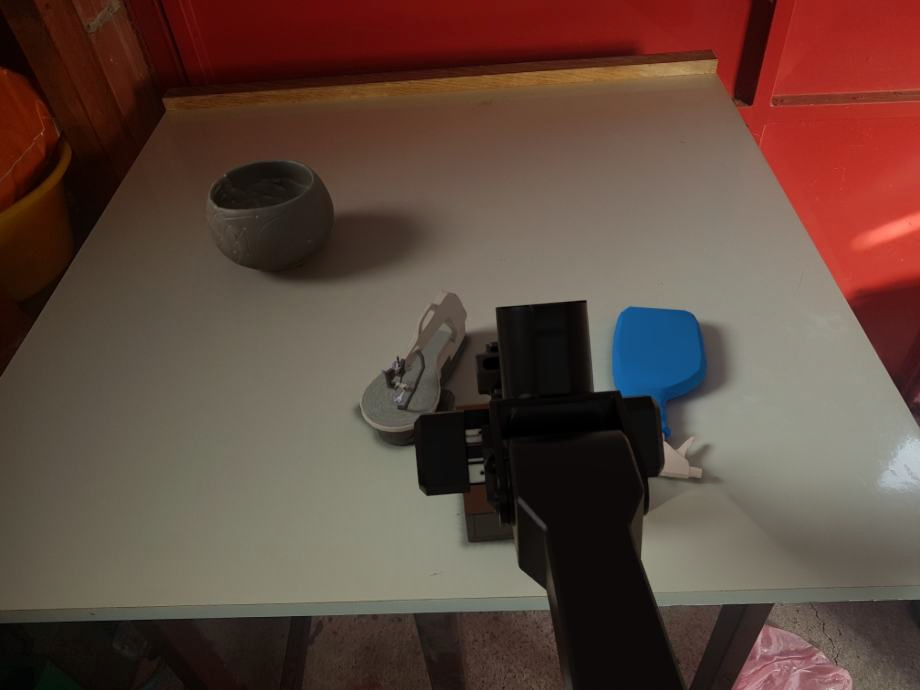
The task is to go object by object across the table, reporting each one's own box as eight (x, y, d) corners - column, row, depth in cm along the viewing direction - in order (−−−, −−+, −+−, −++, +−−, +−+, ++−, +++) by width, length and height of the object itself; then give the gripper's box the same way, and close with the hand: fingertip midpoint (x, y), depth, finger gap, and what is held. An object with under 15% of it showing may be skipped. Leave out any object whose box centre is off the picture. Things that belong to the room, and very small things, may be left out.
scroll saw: (408, 262, 85) (495, 280, 81) (417, 326, 92) (498, 345, 88) (323, 373, 72) (422, 401, 68) (341, 437, 79) (432, 465, 75)
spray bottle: (614, 303, 88) (608, 459, 71) (704, 308, 86) (719, 471, 69) (613, 320, 90) (605, 476, 73) (700, 326, 88) (713, 488, 71)
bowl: (211, 246, 109) (183, 174, 101) (318, 210, 115) (301, 139, 106) (241, 308, 98) (213, 232, 89) (359, 264, 103) (343, 190, 94)
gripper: (677, 326, 46) (624, 333, 62) (398, 350, 46) (416, 351, 62) (692, 493, 46) (635, 458, 62) (412, 516, 46) (426, 475, 62)
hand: (528, 432), depth 62 cm, fingers closed on lid, 5 cm apart
